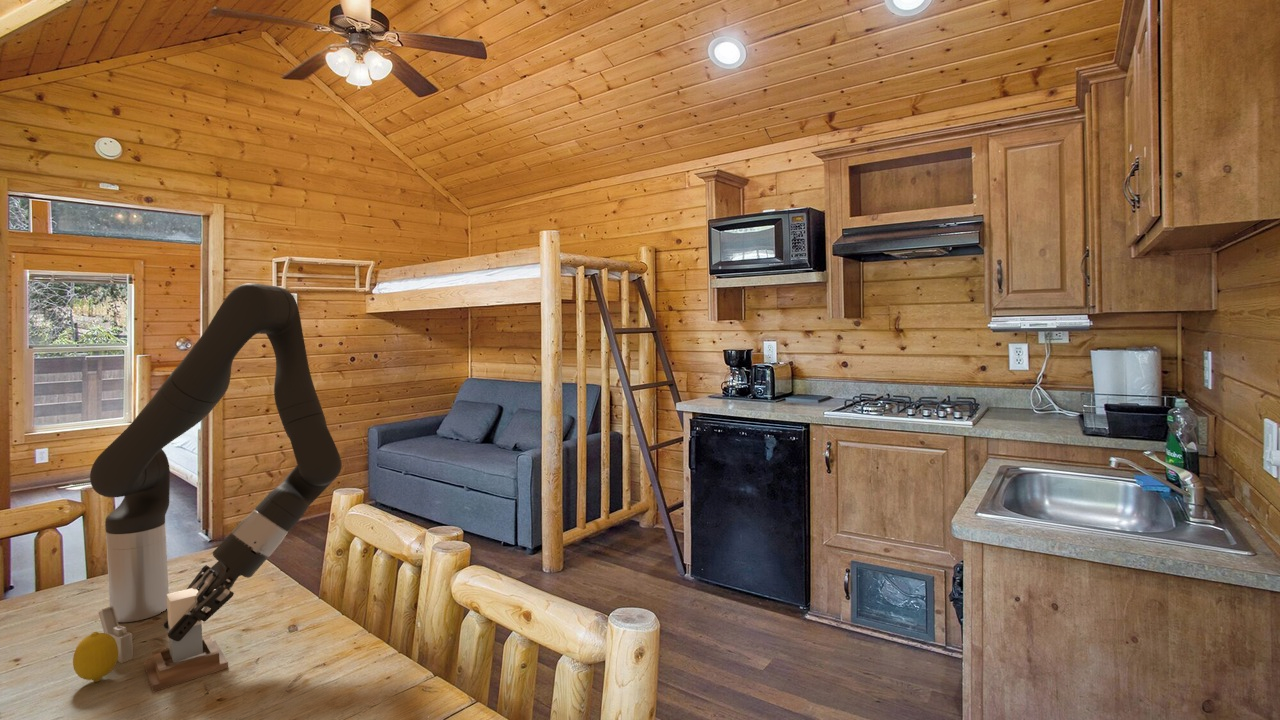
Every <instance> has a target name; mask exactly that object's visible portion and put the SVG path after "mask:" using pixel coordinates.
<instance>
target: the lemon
mask: <svg viewBox="0 0 1280 720" xmlns="http://www.w3.org/2000/svg"><path fill="white" fill-rule="evenodd" d="M118 654H119V653H118V646H117V643H116V641H115V639H114V638H113V637H112V636H111V635H109V634H106V633H104V632H98V631H94V632H92V633H90V634H89V635H88V636H85V637H84V638H83V639H82V640H81V641H80V642H79V643H78V644H77V646H76V647H75V650H74V653H73V658H72V666H73V667H72V668H73V670H74V672H75V674H76V675H77V676H78V677H79V678H81V679H83V680H87V681H93V682H97V683H98V682H99V681H101V680H102V679H103V677H105V676H107V675H108V674H109V673H111V671H113V669H114V668H115V666H116V665H117V663H118V661H117V660H118Z"/></svg>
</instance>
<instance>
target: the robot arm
mask: <svg viewBox="0 0 1280 720" xmlns="http://www.w3.org/2000/svg"><path fill="white" fill-rule="evenodd" d="M302 327H303V326H302V321H301V314H300V310H299V306H298V303H297V301H296V298H295V296H294V295H293V294H292V293H291V292H290V291H289V290H288V289H285V288H283V287H280V286H275V285H268V284H260V283H255V282H254V283H253V282H250V283H249V282H247V283H243V284H240V285H238V286H236V287H234V288H233V290H232V291H230V292H229V294H228V295H227V296H226V297H225V299H224V300H223V301H222V303H221V305H220V306H219V308H218V309H217V311H216V313H215V315H213V318H212V319H211V320H210V323H209V324H208V326H207V327H206V329H205V330H204V332H203V333H202V335H201V336H200V337H199V339H198V340H197V341H196V342H195V344H194V345H193V346H192V348H191V349H190V350H189V352H188V353H187V354H186V356H185V357H184V358H183V360H182V361H181V362H180V363H179V364H178V365H177V366H176V367H175V369H174V370H173V371H172V372H171V374H170V375H169V376H168V377H167V378H166V379H165V380H164V382H163V384H161V386H160V387H159V389H158V390H157V391H156V393H155V394H154V395H153V396H152V398H151V399H150V400H149V401H148V403H146V405H145V406H144V407H143V409H142V410H140V412H139V414H138V415H136V417H135V418H134V419H133V421H132V422H131V423H130V424H129V425H128V426H127V428H125V429H124V431H123V432H122V433H120V434H119V435H118V437H116V438H115V439H114V440H113V441H112V442H111V443H110V445H108V446H107V447H106V448H105V449H104V450H103V451H102V452H101V453H100V454H99V455H98V457H97V458H96V459H95V460H94V462H93V464H92V466H91V469H90V474H89V480H90V485H91V487H92V489H93V490H94V492H96V494H98V495H100V496H101V497H102V496H103V497H105V498H121V497H123V499H122V501H121V503H120V504H119V505H118V506H117V507H116V508H115V509H114V510H113V511H112V512H110V513H109V514H108V515H107V516H106V517H105V522H104V523H105V525H104V527H105V541H106V543H105V544H106V558H107V561H106V562H107V574H108V576H107V577H108V579H107V580H108V595H109V596H108V597H109V598H108V599H109V600H108V602H109V607H111V606H113V607H114V609H115V613H116V617H117V620H118V623H131V622H137V621H142V620H145V619H149V618H153V617H155V616H157V615H160V614H162V613H164V612H165V611H167V610H166V609H167V594H170V593H169V592H170V591H169V590H170V589H169V572H168V571H169V570H168V554H167V552H168V550H167V547H168V546H167V532H166V531H167V530H166V515H167V512H168V510H169V506H170V492H171V491H170V490H171V489H170V486H171V485H170V484H171V483H170V482H171V473H170V471H171V470H170V462H169V459H168V457H167V454H166V452H165V451H164V448H165V447H166V446H168V444H170V443H171V442H173V441H174V440H176V439H177V438H179V437H180V436H182V435H184V434H185V433H186V432H187V431H189V430H191V429H192V428H193V427H195V426H196V425H198V423H200V422H201V421H202V420H204V419H205V418H206V417H207V416H208V415H209V414H210V413H211V412H212V411H213V409H214V408H215V407H216V405H218V403H219V402H220V401H221V400H222V399H223V397H224V395H225V394H226V392H227V391H228V389H229V386H230V381H231V376H232V366H233V361H234V360H235V358H236V356H237V355H238V353H239V352H240V351H241V349H242V348H243V347H244V346H245V345H246V344H247V343H248V342H249V341H250V339H251V338H253V337H254V336H256V335H258V334H259V335H260V334H261V335H262V334H263V335H266V336H267V338H268V341H270V344H271V346H272V347H271V348H272V349H273V354H274V357H275V377H274V386H273V390H274V391H273V393H274V401H275V406H276V409H277V412H278V416H279V418H280V421H281V424H282V426H283V430H284V432H285V433H286V436H287V437H288V439H289V440H290V444H291V448H292V452H293V454H294V458H295V460H296V464H297V465H295V467H294V468H293V469H292V470H291V471H290V473H289V474H288V475H287V476H286V477H285V478H284V479H283V481H282V482H281V483H280V484H279V485H277V486H276V487H275V488H274V489H272V490H271V491H270V492H269V493H268V494H267V495H266V496H265V497H264V499H263V500H261V502H259V504H258V505H257V506H256V507H255V509H253V510H252V511H251V512H250V513H249V514H248V515H246V516H245V517H244V518H243V519H242V520H241V521H240V522H239V523H238V525H237V526H236V527H235V528H234V529H232V531H231V532H230V533H229V534H228V535H227V536H226V537H225V538H224V540H222V542H221V543H220V544H219V545H218V546H217V547H215V549H214V550H213V551H212V556H213V558H214V559H215V560H216V561H217V562H216V563H215V564H214V565H213V566H211V567H210V566H208V565H207V564H206V565H204V566H202V568H201V569H200V571H198V573H197V575H196V576H195V577H194V578H193V580H192V581H191V582H190V584H189V585H188V587H187V588H186V589H190V588H193V589H195V588H196V589H197V590H198V593H197V594H196V595H197V596H196V597H195V602H194V603H193V604H192V606H191V607H190V608H189V609H188V610H187V612H186V614H184V615H183V616H182V618H181V619H180V620H179V621H178V622H177V623H176V624H175V625H174V626H173V628H172V629H171V630H170V631H169V632H167V637H168V639H169V638H171V639H173V640H175V641H180V640H181V639H182V638H183V637H184V636H185V635H186V634H187V633H188V632H189V630H190V629H191V628H192V627H193V626H194V625H195V624H196V622H197V621H199V622H200V621H202V622H204V623H205V622H207V621H208V620H209V619H210V618H211V617H212V616H213V615H214V614H215V613H217V611H218V610H220V608H222V607H223V606H224V605H225V604H226V603H228V601H229V600H231V599H232V598H233V596H234V595H235V593H234V591H232V590H231V589H232V588H233V586H234V584H235V583H236V581H237V580H238V579H239V577H240V576H242V577H244V578H247V579H248V578H251V577H253V576H254V575H255V573H256V572H257V571H258V570H259V569H260V568H261V566H262V565H263V564H264V563H265V562H266V561H267V560H268V559H269V558H270V557H271V555H272V554H273V553H274V552H275V551H276V549H277V548H278V547H279V546H280V545H281V543H282V542H283V540H284V539H285V537H286V535H287V534H288V532H290V531H291V530H292V529H293V528H294V526H295V525H296V524H297V523H298V522H299V521H300V520H301V518H302V517H303V516H304V515H305V513H306V512H307V510H308V509H309V508H310V506H311V505H312V504H313V503H314V501H316V499H317V498H319V496H320V495H321V494H322V493H324V491H325V490H326V489H327V488H328V487H329V486H330V485H331V484H332V483H333V481H335V480H336V479H337V478H338V476H339V475H340V473H341V470H342V458H341V456H340V454H339V450H338V448H337V445H336V444H335V441H334V439H333V436H332V435H331V433H330V430H329V429H328V424H327V421H326V417H325V414H324V410H323V408H322V406H321V402H320V399H319V396H318V393H317V390H316V388H315V385H314V383H313V382H314V381H313V378H312V374H311V371H310V370H311V369H310V366H309V361H308V356H307V350H306V345H305V344H306V343H305V339H304V334H303V328H302ZM164 610H165V611H164ZM163 611H164V612H163ZM161 612H162V613H161ZM162 625H163V628H164V629H166V630H168V618H167V619H166V620H165V621H164V622H163V624H162Z"/></svg>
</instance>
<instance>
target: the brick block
mask: <svg viewBox="0 0 1280 720" xmlns="http://www.w3.org/2000/svg"><path fill="white" fill-rule="evenodd" d="M197 593H198V590H197V589H196V588H195V589H193V588H190V589H187V588H186V589H183V590H179V591H174V592H170V593H169V594H167V610H166V611H167V619H168V629H167V631H168V632H169V631H170V630H171V629H172V628H173V626H174V625H175V624H176V623H177V622H178V621H179V620H180V619H181V618H182V616H183V615H184V614H186V612H187V610H188V609H189V608H190V607H191V606H192V604H193V603H194V602H195V597H196V596H197V595H196V594H197ZM202 622H203V621H202V620H201V621H200V622H199V621H197V622H196V624H195V625H194V626H193V627H192V628H191V629H190V630H189V632H188V633H187V634H186V635H185V636H184V637H183V638H182V639H181V640H180V641H175V640H173V639H171V638H169V637H168V648H169V651H170V655H171V658H172V660H173V662H176V661H179V660H183V659H186V658H189V657H192V656H196V655H199V654H202V653H203V642H202V638H203V627H202V626H203V625H202V624H203V623H202ZM168 632H167V633H168Z"/></svg>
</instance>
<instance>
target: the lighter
mask: <svg viewBox="0 0 1280 720" xmlns="http://www.w3.org/2000/svg"><path fill="white" fill-rule="evenodd" d="M98 615H99V619H100V623H101V626H102V627H101V628H102V631H103V633H106V634H109V635H111V636H112V637H113V638H114V639H115V641H116V643H117V646H118V653H119V654H118V660H117V662H118V661H119V662H118V663H121V664H123V663H125V662H127V661H130V660H133V659H134V651H133V650H134V647H133V633H131V632H129V631H127V627H126V626H123V625H120V624H119V622H118V620H117V617H116V613H115V609H114V607H113V606H111V607H110V606H108V607H106V608H103V609H101V610H99V611H98Z"/></svg>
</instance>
